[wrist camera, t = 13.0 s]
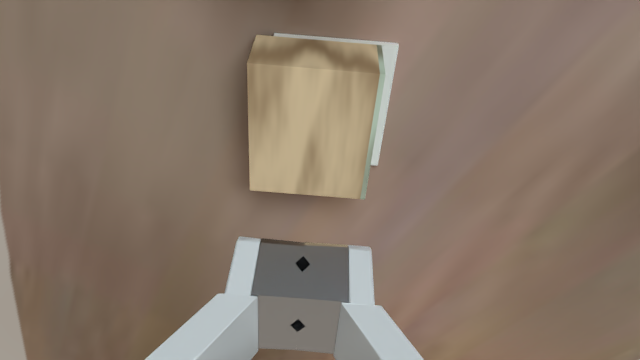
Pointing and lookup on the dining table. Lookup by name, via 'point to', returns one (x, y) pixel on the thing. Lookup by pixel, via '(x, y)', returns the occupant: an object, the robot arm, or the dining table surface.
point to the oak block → (312, 115)
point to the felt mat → (389, 63)
